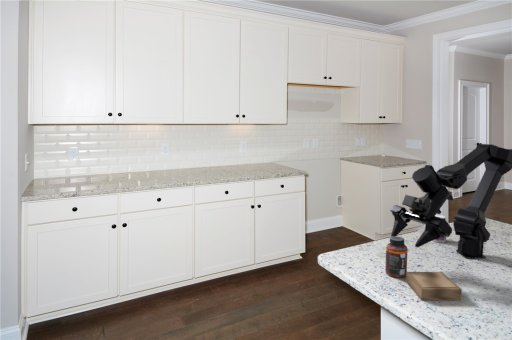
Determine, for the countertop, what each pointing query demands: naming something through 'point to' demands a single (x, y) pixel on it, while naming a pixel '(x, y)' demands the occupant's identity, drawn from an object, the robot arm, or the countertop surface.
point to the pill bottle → (442, 240)
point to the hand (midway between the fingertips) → (403, 241)
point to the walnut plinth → (433, 286)
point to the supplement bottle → (396, 257)
